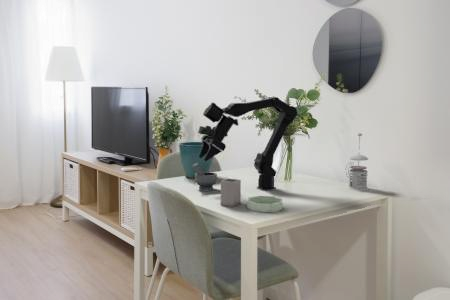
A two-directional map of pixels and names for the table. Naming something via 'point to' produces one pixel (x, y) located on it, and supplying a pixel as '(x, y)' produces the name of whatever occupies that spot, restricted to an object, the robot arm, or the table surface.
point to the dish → (264, 203)
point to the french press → (357, 173)
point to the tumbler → (230, 192)
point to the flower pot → (193, 158)
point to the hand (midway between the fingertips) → (202, 159)
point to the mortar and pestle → (204, 178)
